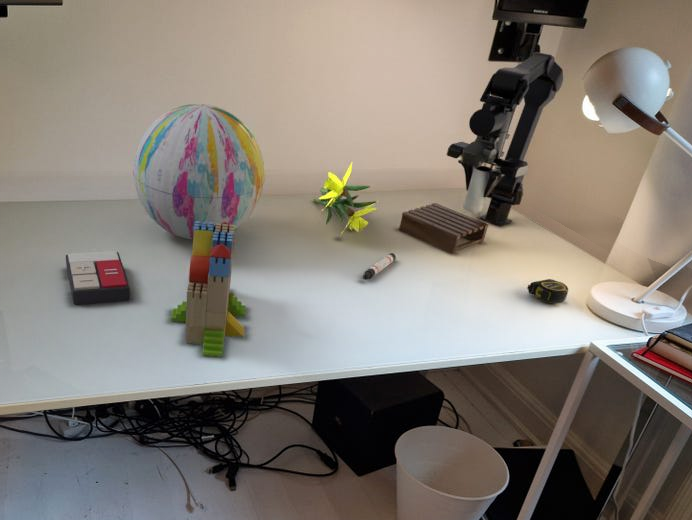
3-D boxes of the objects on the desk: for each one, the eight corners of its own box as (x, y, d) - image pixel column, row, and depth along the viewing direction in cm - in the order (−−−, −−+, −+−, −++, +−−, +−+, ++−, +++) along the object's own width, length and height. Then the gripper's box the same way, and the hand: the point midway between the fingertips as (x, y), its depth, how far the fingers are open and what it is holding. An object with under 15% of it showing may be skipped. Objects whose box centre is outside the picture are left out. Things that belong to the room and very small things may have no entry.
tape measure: (547, 290, 148) (552, 275, 146) (570, 304, 143) (576, 289, 141) (524, 294, 145) (530, 279, 143) (547, 308, 140) (553, 293, 138)
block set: (180, 279, 138) (183, 191, 127) (246, 284, 138) (255, 197, 127) (163, 352, 115) (165, 252, 104) (242, 359, 115) (252, 260, 104)
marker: (387, 259, 155) (389, 251, 154) (394, 261, 154) (396, 254, 153) (358, 281, 144) (360, 272, 143) (366, 284, 143) (368, 275, 142)
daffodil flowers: (363, 207, 185) (398, 222, 152) (317, 232, 186) (342, 252, 153) (337, 152, 180) (368, 156, 147) (290, 178, 181) (310, 188, 148)
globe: (236, 208, 174) (245, 90, 157) (276, 257, 151) (292, 124, 134) (124, 213, 165) (121, 88, 148) (148, 266, 142) (147, 125, 125)
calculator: (72, 288, 123) (65, 250, 135) (73, 307, 126) (66, 269, 137) (130, 284, 127) (118, 248, 138) (130, 303, 129) (118, 265, 140)
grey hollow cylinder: (482, 208, 163) (494, 168, 157) (480, 214, 160) (492, 173, 154) (464, 204, 164) (475, 164, 159) (461, 210, 161) (473, 169, 155)
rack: (430, 220, 178) (434, 202, 175) (483, 242, 168) (489, 224, 165) (398, 230, 170) (402, 212, 167) (451, 254, 160) (457, 235, 157)
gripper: (442, 122, 152) (426, 187, 161) (514, 144, 141) (492, 212, 150) (468, 117, 158) (451, 180, 167) (539, 137, 147) (517, 203, 156)
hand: (476, 193), depth 160 cm, fingers closed on grey hollow cylinder, 4 cm apart
